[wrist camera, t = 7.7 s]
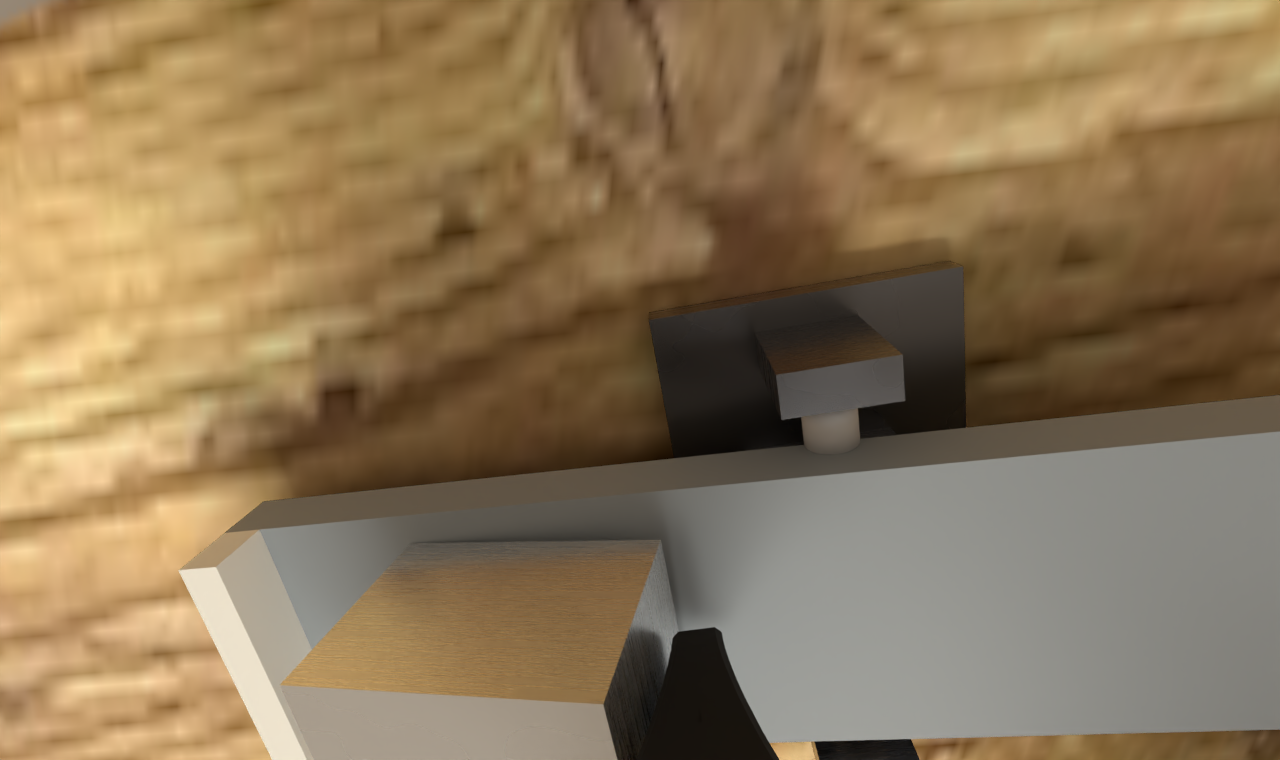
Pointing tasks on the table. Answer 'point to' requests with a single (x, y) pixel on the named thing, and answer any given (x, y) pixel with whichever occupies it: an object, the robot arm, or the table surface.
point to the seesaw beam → (864, 571)
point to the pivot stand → (817, 376)
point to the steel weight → (493, 655)
